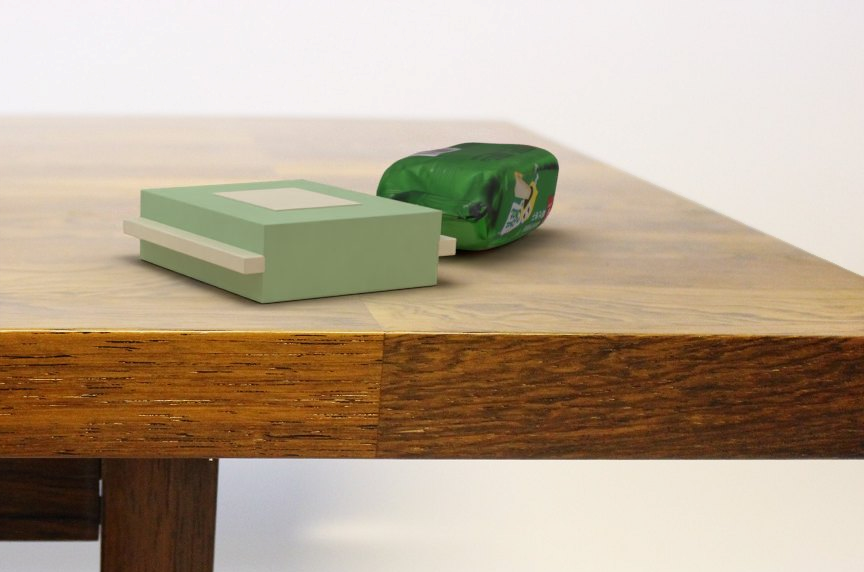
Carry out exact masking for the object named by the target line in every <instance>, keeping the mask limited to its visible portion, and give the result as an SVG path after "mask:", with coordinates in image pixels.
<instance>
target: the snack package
mask: <svg viewBox="0 0 864 572" xmlns="http://www.w3.org/2000/svg"><path fill="white" fill-rule="evenodd" d="M559 174H560V164H559V160H558V158H557V157H556V156H555V155H554V154H553V153H552V152H551V151H549V150H547V149H544V148H542V147H539V146H534V145H530V144H524V143H523V144H522V143H521V144H520V143H494V142H493V143H492V142H473V141H472V142H463V143H462V142H461V143H458V144H454V145H450V146H447V147H442V148H437V149H431V150H423V151H418V152H416V153H412V154H410V155H408V156H406V157H403V158H400V159H398V160H396V161H394V162H393V163H391V165H390V166H388V167H387V168H386V169H385V170H384V171H383V173H382V175H381V177H380V180H379V182H378V185H377V187H376V188H377V189H376V193H375V196H379V197H383V198H388V199H392V200H396V201H401V202H405V203H410V204H414V205H419V206H423V207H427V208H432V209H436V210H441V211H442V220H441V233H440V235H444V236H448V237H452V238H455V239H456V250H463V251H484V250H488V249H493V248H497V247H500V246H504V245H506V244H509V243H511V242H513V241H516V240H518V239H520V238H521V237H523V236H525V235H527V234H530V233H531V232H533V231H535V230H537V228H539V227H540V226H541V225H543V223H544V222H545V221H546V219H547V218H548V217H549V215H550V213H551V211H552V209H553V205H554V201H555V196H556V191H557V184H558V180H559Z"/></svg>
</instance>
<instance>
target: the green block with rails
mask: <svg viewBox="0 0 864 572" xmlns="http://www.w3.org/2000/svg"><path fill="white" fill-rule="evenodd" d="M139 200H140V202H139V204H140V209H139V213H140V215H139V216H131V217H123V219H122V224H123V225H122V233H123V234H125V235H127V236H131V237H134V238H137V239H139V259H140V260H142V261H145V262H147V263H150V264H153V265H156V266H159V267H161V268H164V269H167V270H170V271H172V272H175V273H177V274H181V275H183V276H186V277H189V278H192V279H194V280H196V281H200V282H203V283H205V284H208V285H211V286H213V287H216V288H219V289H222V290H225V291H227V292H230V293H233V294H234V295H235V294H236V295H238V296H241V297H244V298H246V299H249V300H252V301H254V302H257V303H260V304H270V303H278V302H279V303H280V302H289V301H298V300H308V299H316V298H317V299H318V298H327V297H335V296H336V297H337V296H345V295H346V296H347V295H354V294H355V295H356V294H364V293H375V292H382V291H393V290H402V289H410V288H411V289H412V288H422V287H429V286H430V287H431V286H437V284H438V272H439V271H438V270H439V259H440V258H439V257H445V256H455V255H456V250H457V249H456V239H455V238H452V237H448V236H444V235H440V233H441V220H442V211H441V210H436V209H432V208H427V207H423V206H419V205H414V204H410V203H405V202H401V201H396V200H392V199H388V198H383V197H379V196H376V195H373V194H369V193H365V192H360V191H356V190H352V189H347V188H343V187H339V186H335V185H329V184H326V183H321V182H316V181H312V180H307V179H303V178H302V179H287V180H271V181H269V180H268V181H254V182H253V181H252V182H237V183H222V184H221V183H220V184H207V185H188V186H175V187H172V186H171V187H157V188H141V189H140V199H139Z"/></svg>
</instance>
